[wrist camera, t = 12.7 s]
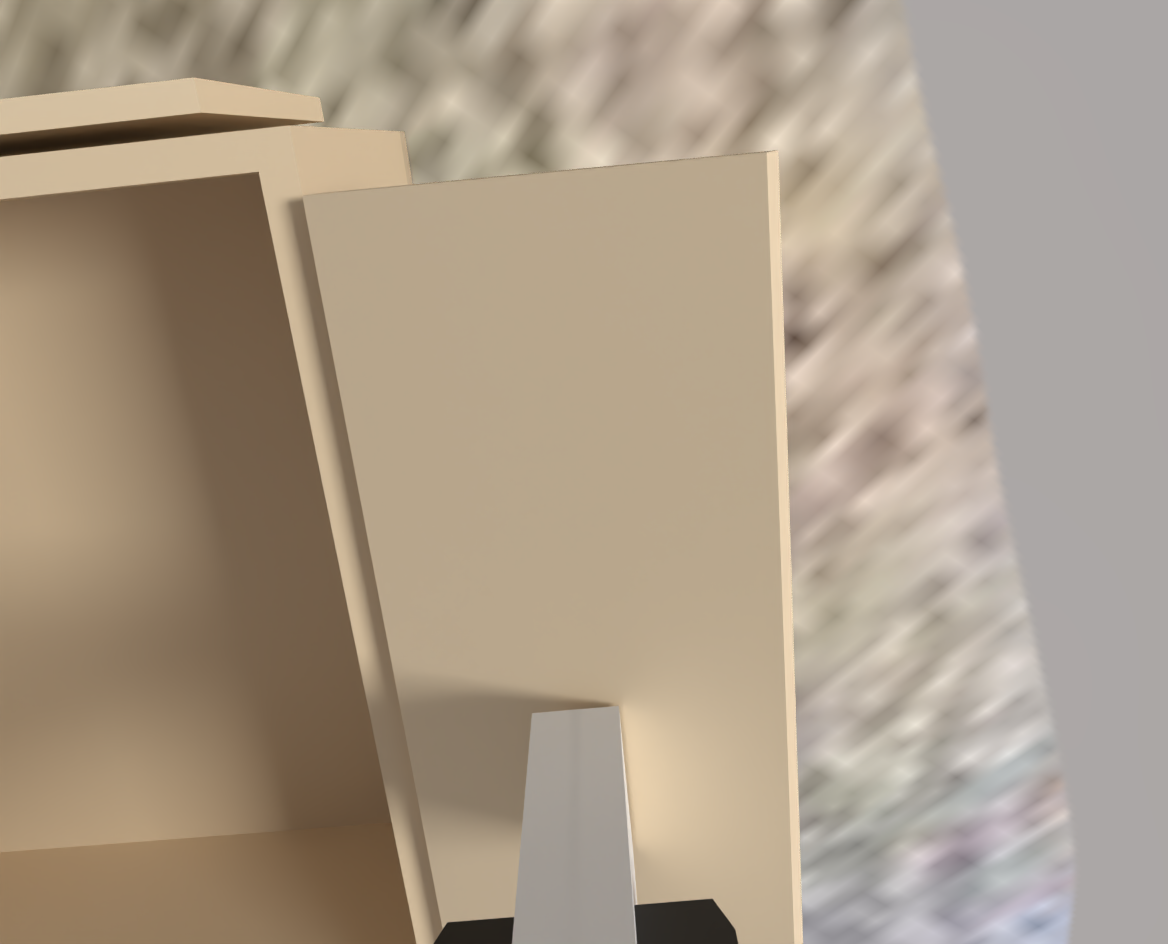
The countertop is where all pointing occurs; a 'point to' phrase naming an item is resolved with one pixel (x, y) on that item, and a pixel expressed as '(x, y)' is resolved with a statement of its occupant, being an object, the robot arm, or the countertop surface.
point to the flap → (581, 506)
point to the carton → (188, 537)
